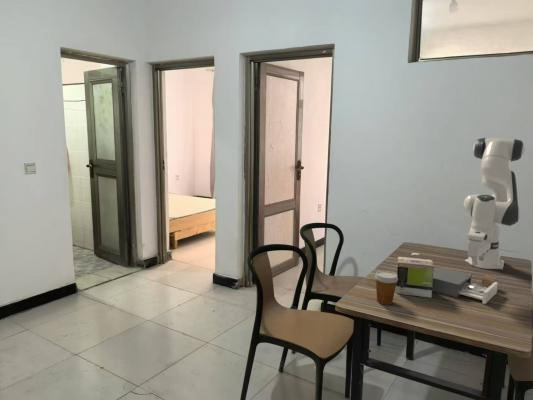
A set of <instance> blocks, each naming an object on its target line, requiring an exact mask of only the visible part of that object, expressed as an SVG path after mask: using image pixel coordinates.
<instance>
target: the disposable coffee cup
mask: <svg viewBox="0 0 533 400" xmlns="http://www.w3.org/2000/svg"><path fill="white" fill-rule="evenodd" d="M374 279H375V284H376V285H375V287H376V289H375V290H376V291H375V292H376V301H377V302H378V303H379V304H381V305H391V304H393V302H394V296H395V293H396V283H397V281H398V277H397V273H395V272H392V271H387V270H378V271H376V273H375V275H374Z"/></svg>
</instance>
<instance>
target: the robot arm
mask: <svg viewBox="0 0 533 400" xmlns="http://www.w3.org/2000/svg"><path fill="white" fill-rule="evenodd" d="M472 153H473V156H474V157H475V158H476V159H480V160H481V163H480V171H481V173H482V179H481V183H482V185H483V186H484V187H485V188H486V189H488V190H489V191H490V190H491V191H492V194H481V193H479V194H469V195H467V196H466V197H465V198H464V200H463V208H464V210H465V212H467V213H468V214H469V216H470V217H471V218H472V221H471V223H470V229H469V232H468V234H467V236H466V238H467V239H468V241H467V257H468V258H466V259H465V262H466V263H468V264H469V265H471V266H474V267H475V268H479V269H480V268H481V269H486V270H487V269H488V270H504V264H505V261H504V260H503V259H501V251H500V249H499V245H500V240H499V235H500V228H499V225H500V224H501V225H503V226H507V227H511V226H513V225H515V224H517V223H519V220H520V216H521V212H520V207H519V201H518V190H517V189H518V187H517V178H516V175H515V172H514V171H513V170H511V169H510V167H509V162H516V161H519V160H520V159H521V158H522V156H523V155H524V153H525V145H524V142H523V141H522V140H521V139H518V138H515V139H513V138H504V137H499V138H498V137H496V138H495V137H489V138H485V137H481V138H477V139H476V140H475V142H474V144H473V146H472ZM498 224H499V225H498Z"/></svg>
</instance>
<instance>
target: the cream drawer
mask: <svg viewBox="0 0 533 400" xmlns="http://www.w3.org/2000/svg"><path fill="white" fill-rule="evenodd" d="M468 284H470V283H466V282H464V283H463V284H462V285H460V286H459V294H461V295H463V296H466V297H470V298H473V299H475V300H476V299H477V300H481V301H482V303H481V304H483V305H486V304H487V303H488V302H489V301H490V300H491V299H492V298H493V297H494V296H495V295H496V294H497V292H498V282H494V283H493V284H492V285H491V286H490V287H488V288H486V287H484V292H483V293H478V292H474V291H470V290H468Z"/></svg>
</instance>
